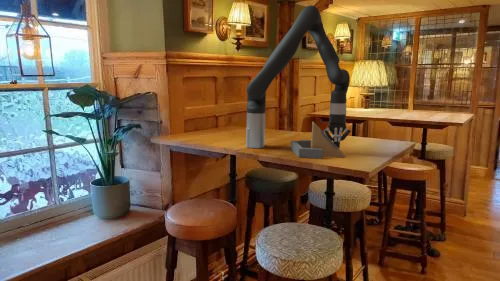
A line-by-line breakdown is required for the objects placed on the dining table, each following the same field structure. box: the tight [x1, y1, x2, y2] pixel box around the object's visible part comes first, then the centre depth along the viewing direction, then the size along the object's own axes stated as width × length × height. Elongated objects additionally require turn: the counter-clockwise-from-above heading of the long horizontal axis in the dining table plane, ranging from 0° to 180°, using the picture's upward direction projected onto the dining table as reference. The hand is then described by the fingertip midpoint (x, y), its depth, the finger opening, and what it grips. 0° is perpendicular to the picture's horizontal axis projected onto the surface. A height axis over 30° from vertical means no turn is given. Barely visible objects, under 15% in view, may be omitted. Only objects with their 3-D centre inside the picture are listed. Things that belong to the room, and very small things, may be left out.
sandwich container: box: [311, 121, 346, 158], centre depth 165 cm, size 9×15×15 cm, turn 82°
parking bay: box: [290, 139, 323, 159], centre depth 169 cm, size 10×24×4 cm, turn 5°
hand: (336, 149), depth 170 cm, fingers closed
